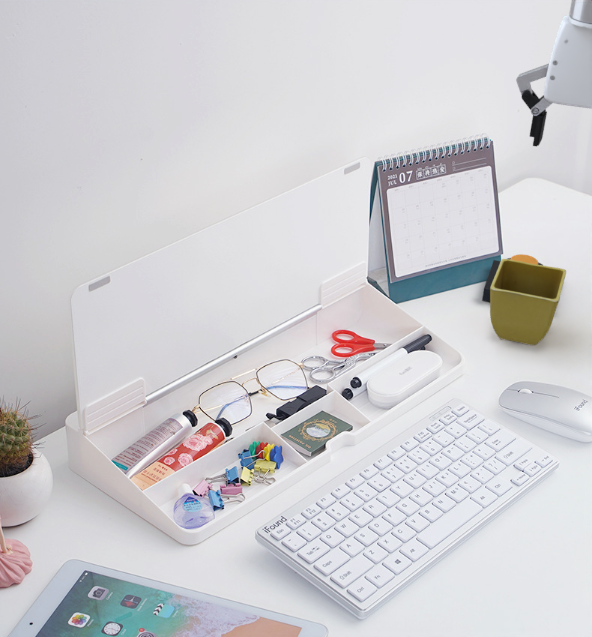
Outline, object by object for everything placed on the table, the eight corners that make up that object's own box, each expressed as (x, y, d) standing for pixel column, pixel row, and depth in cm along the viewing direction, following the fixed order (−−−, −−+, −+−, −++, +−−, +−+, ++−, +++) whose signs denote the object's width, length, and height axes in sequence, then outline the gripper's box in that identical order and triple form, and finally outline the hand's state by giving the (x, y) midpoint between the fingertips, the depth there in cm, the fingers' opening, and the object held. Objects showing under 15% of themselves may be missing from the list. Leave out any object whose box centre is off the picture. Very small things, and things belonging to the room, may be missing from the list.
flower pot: (480, 343, 109) (489, 287, 104) (493, 310, 116) (502, 256, 111) (546, 358, 106) (558, 301, 101) (555, 323, 113) (567, 269, 108)
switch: (554, 283, 122) (558, 260, 120) (547, 313, 115) (552, 289, 113) (491, 271, 125) (495, 249, 123) (481, 300, 118) (485, 277, 116)
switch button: (537, 267, 119) (539, 257, 118) (534, 280, 116) (536, 269, 115) (510, 262, 120) (512, 252, 119) (506, 275, 117) (508, 264, 116)
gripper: (684, 9, 93) (648, 148, 103) (534, -4, 99) (513, 129, 108) (682, 24, 87) (644, 170, 97) (522, 9, 93) (501, 148, 103)
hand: (575, 148), depth 103 cm, fingers open, 9 cm apart
